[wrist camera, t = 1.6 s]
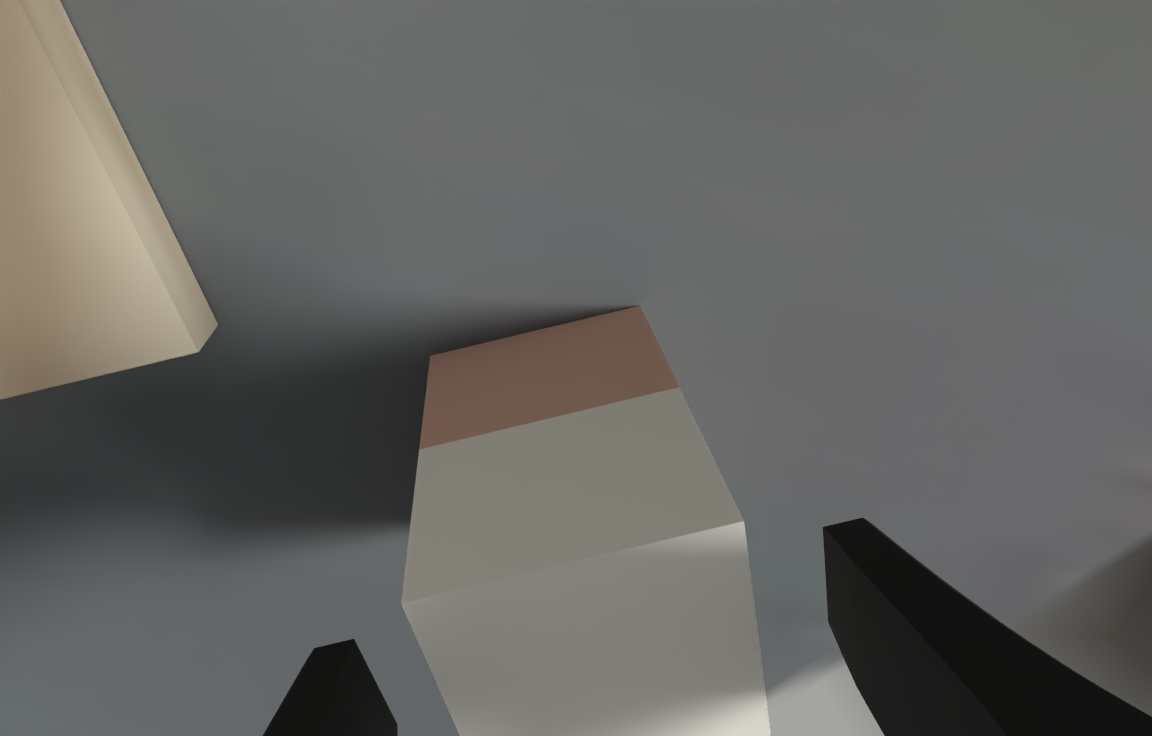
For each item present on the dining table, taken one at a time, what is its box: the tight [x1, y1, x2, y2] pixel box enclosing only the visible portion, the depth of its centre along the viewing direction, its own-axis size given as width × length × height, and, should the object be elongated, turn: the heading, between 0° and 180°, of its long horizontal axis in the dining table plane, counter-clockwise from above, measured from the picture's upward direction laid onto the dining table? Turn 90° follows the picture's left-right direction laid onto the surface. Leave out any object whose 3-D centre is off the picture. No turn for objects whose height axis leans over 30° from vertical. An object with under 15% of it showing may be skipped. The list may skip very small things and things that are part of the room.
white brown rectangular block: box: [401, 306, 771, 736], centre depth 14 cm, size 4×4×7 cm
